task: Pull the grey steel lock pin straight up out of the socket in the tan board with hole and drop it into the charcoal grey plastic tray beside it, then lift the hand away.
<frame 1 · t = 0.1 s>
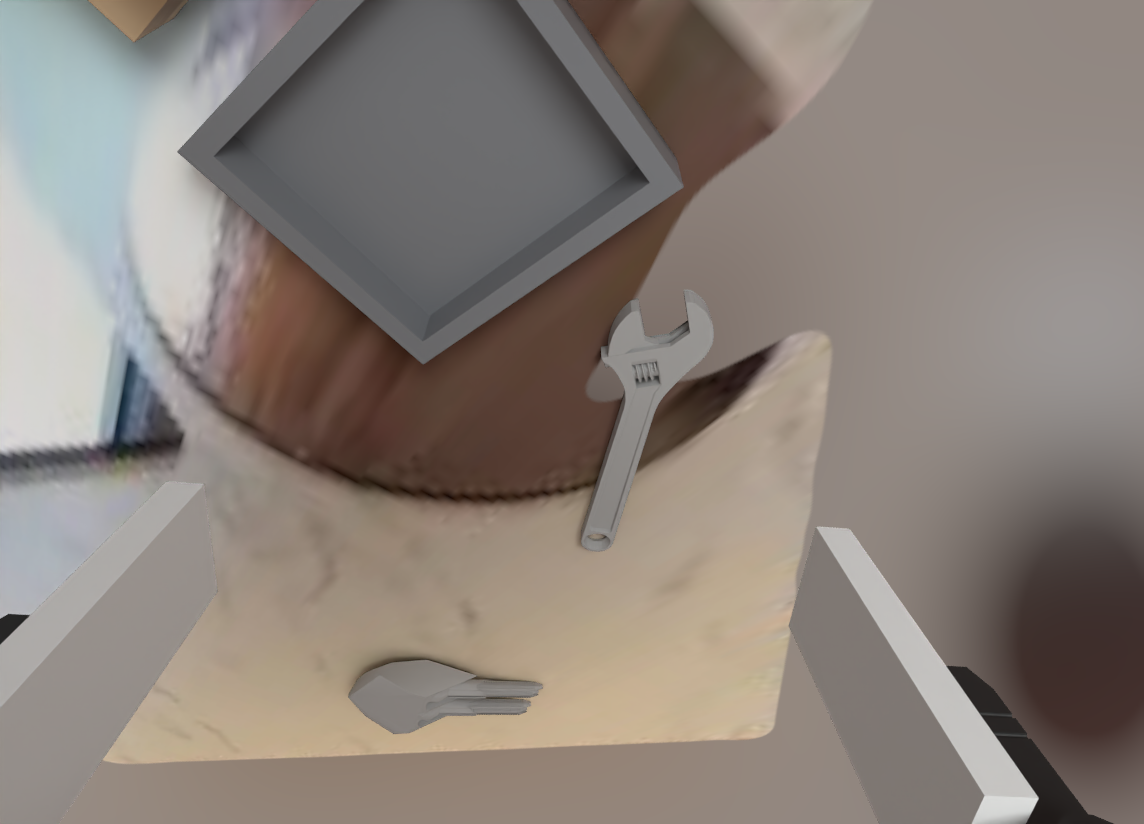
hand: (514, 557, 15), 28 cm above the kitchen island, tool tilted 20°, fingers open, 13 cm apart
turret: (448, 676, 77), on the kitchen island
tray: (444, 142, 37), on the kitchen island
adjustable wrench: (618, 426, 52), on the kitchen island
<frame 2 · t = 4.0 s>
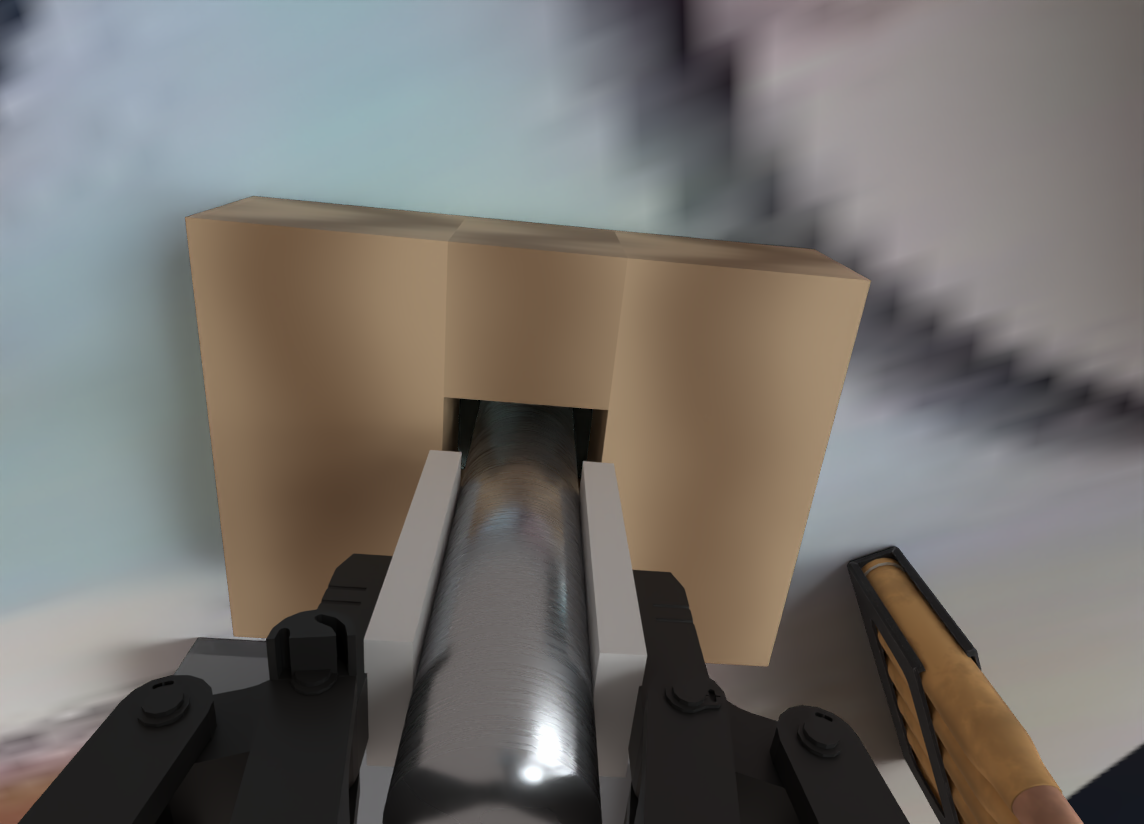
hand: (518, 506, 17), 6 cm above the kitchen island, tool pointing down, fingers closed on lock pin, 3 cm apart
lock pin: (516, 539, 16), in the tan board with hole, touching gripper
tan board with hole: (525, 415, 23), on the kitchen island
ammunition clip: (898, 656, 27), on the kitchen island
tray: (447, 805, 30), on the kitchen island
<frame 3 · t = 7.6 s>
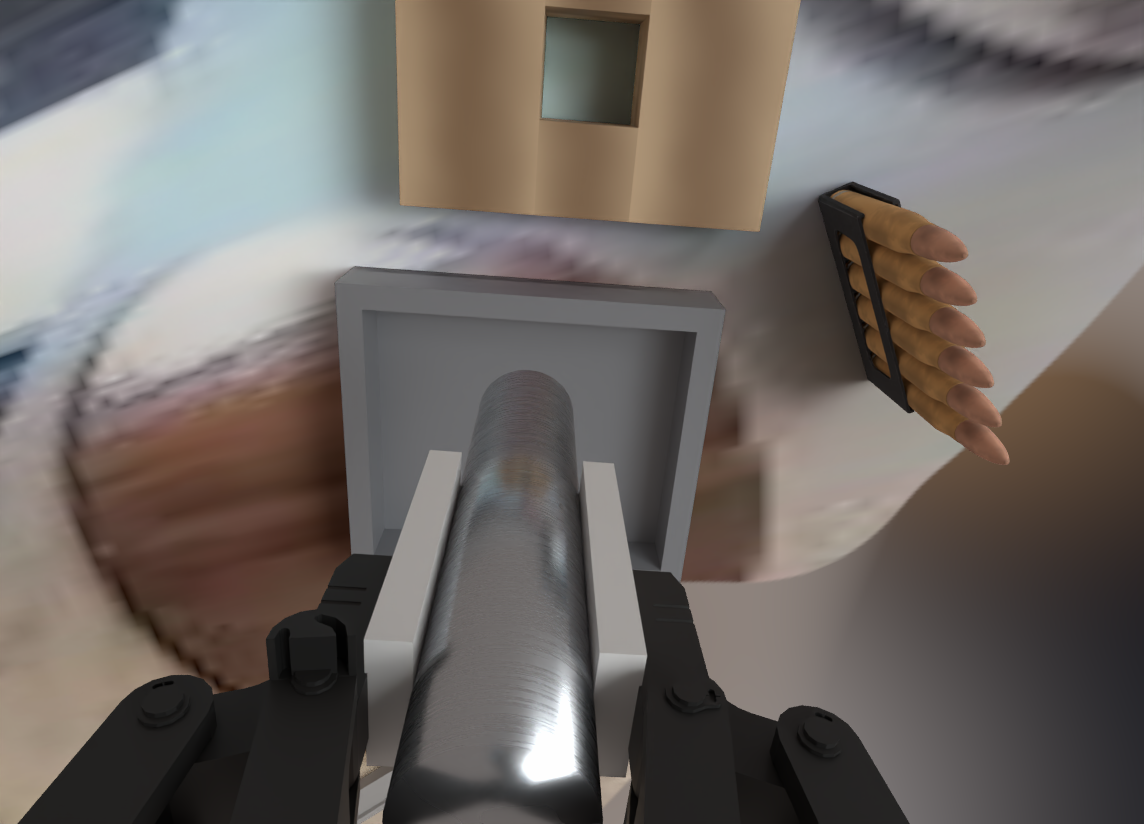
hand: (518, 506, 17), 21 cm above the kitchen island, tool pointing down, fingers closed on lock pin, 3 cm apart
lock pin: (516, 538, 16), point 23 cm above the kitchen island, touching gripper
tan board with hole: (589, 72, 33), on the kitchen island
ammunition clip: (859, 285, 37), on the kitchen island
tray: (527, 423, 40), on the kitchen island
adjustable wrench: (437, 731, 50), on the kitchen island
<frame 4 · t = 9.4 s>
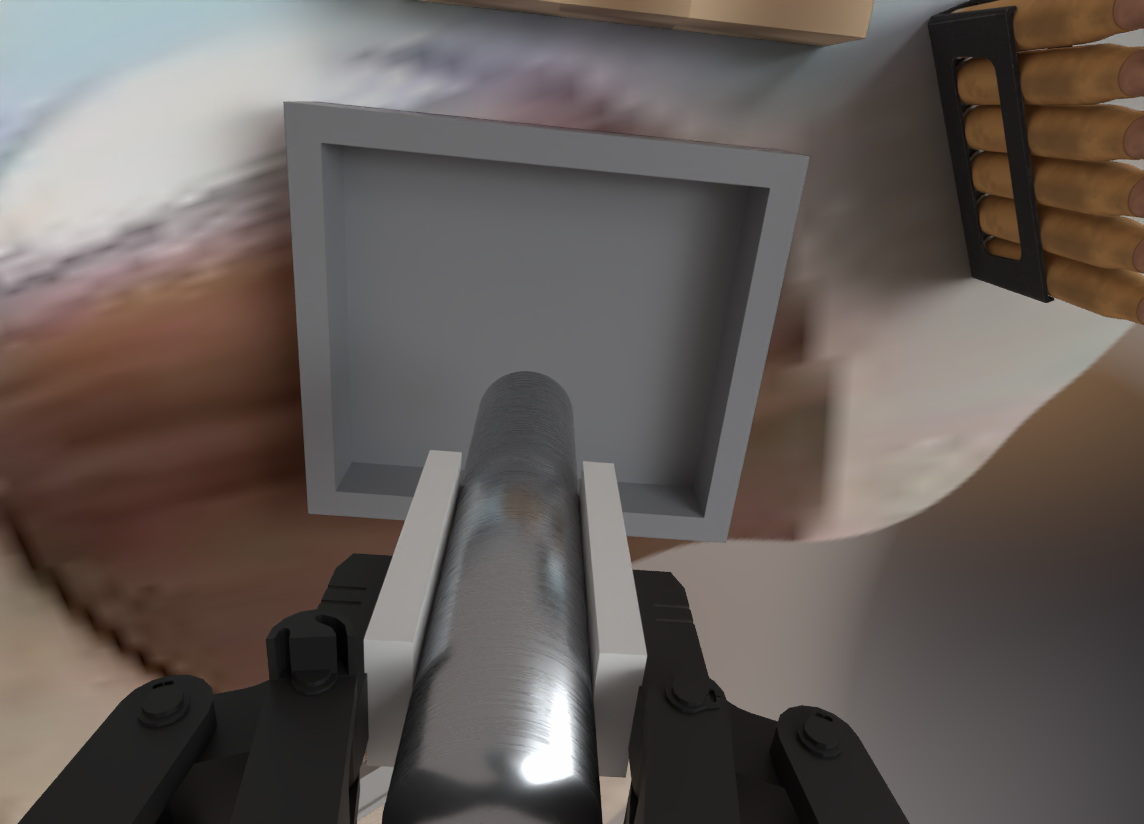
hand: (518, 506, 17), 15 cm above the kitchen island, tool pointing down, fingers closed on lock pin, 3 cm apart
lock pin: (516, 539, 16), point 16 cm above the kitchen island, touching gripper
ammunition clip: (971, 148, 29), on the kitchen island
tray: (536, 326, 31), on the kitchen island
adjustable wrench: (415, 731, 42), on the kitchen island
when the fingers open (8 cm above the kitchen island, at t = 11.1 s): lock pin drops 2 cm, resting on tray.
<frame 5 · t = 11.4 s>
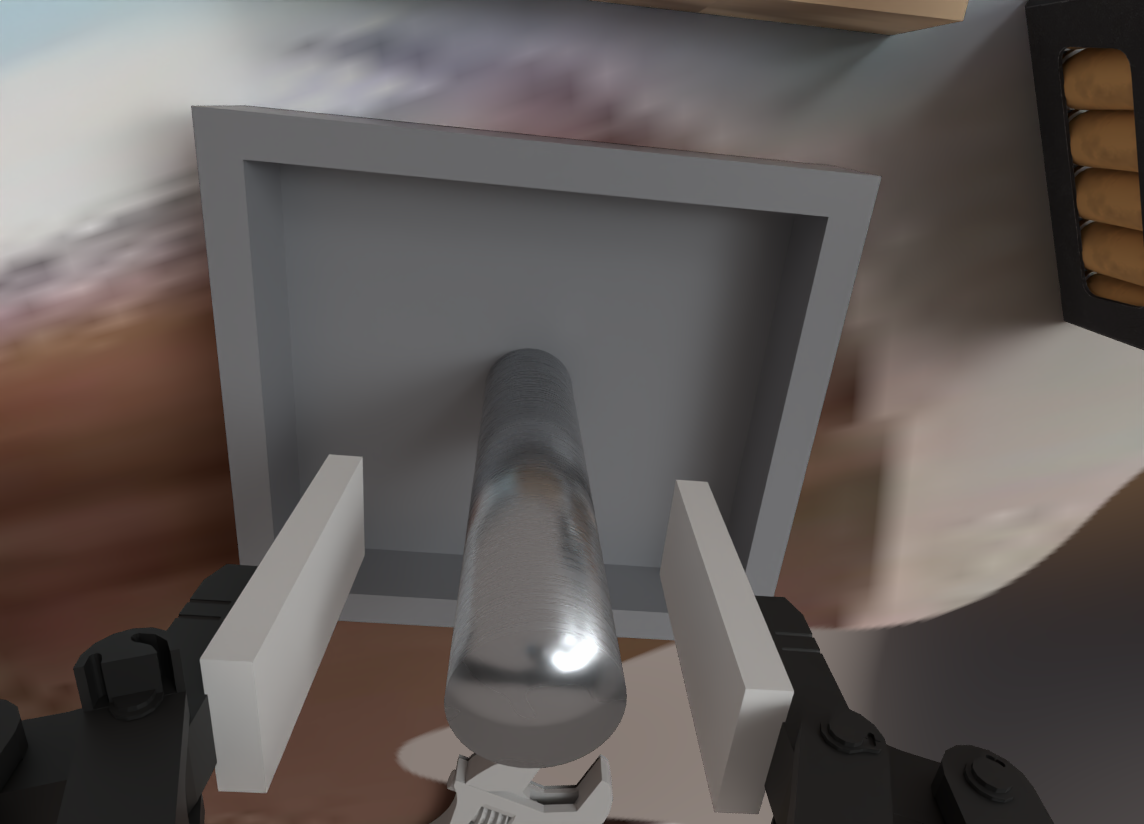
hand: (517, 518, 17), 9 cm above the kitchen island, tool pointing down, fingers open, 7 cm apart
lock pin: (531, 491, 18), in the tray, point 8 cm above the kitchen island
ammunition clip: (1070, 163, 23), on the kitchen island
tray: (528, 381, 25), on the kitchen island
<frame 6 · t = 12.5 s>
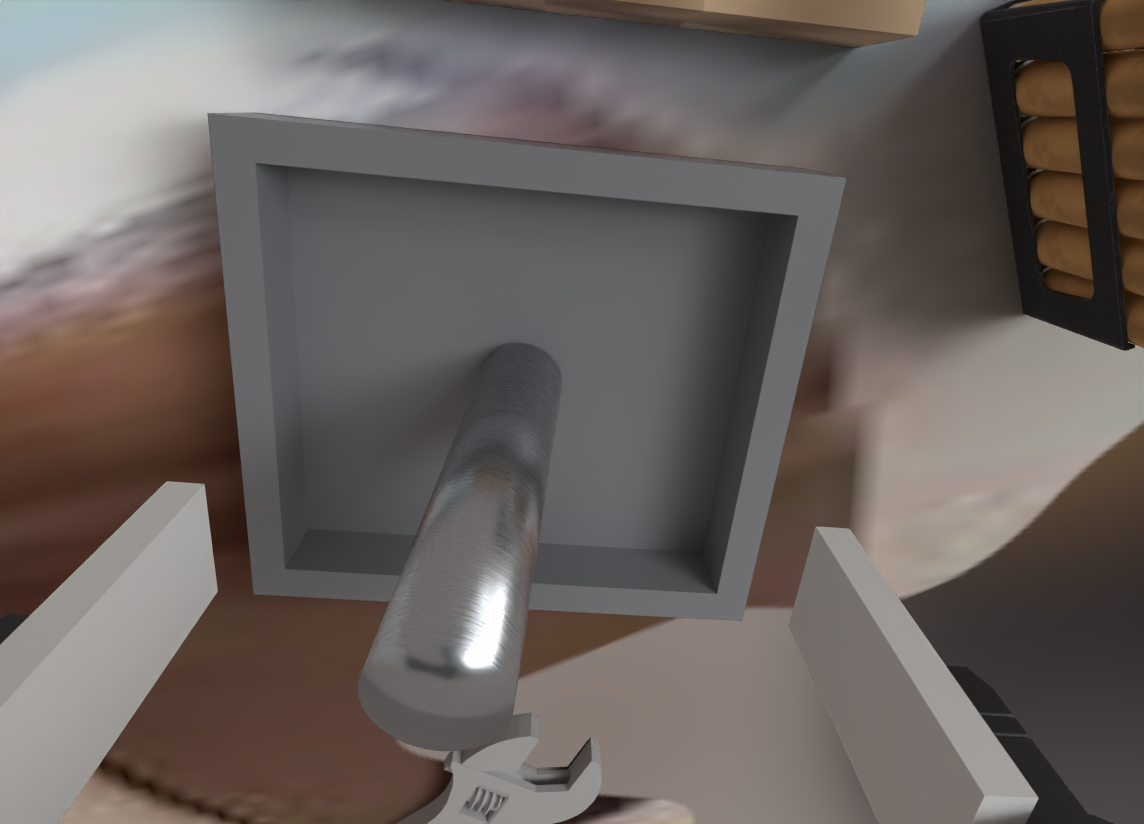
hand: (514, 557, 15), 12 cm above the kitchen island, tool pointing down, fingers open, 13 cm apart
lock pin: (491, 490, 20), in the tray, point 8 cm above the kitchen island, tilted 7°
ammunition clip: (1026, 166, 25), on the kitchen island
tray: (521, 372, 27), on the kitchen island
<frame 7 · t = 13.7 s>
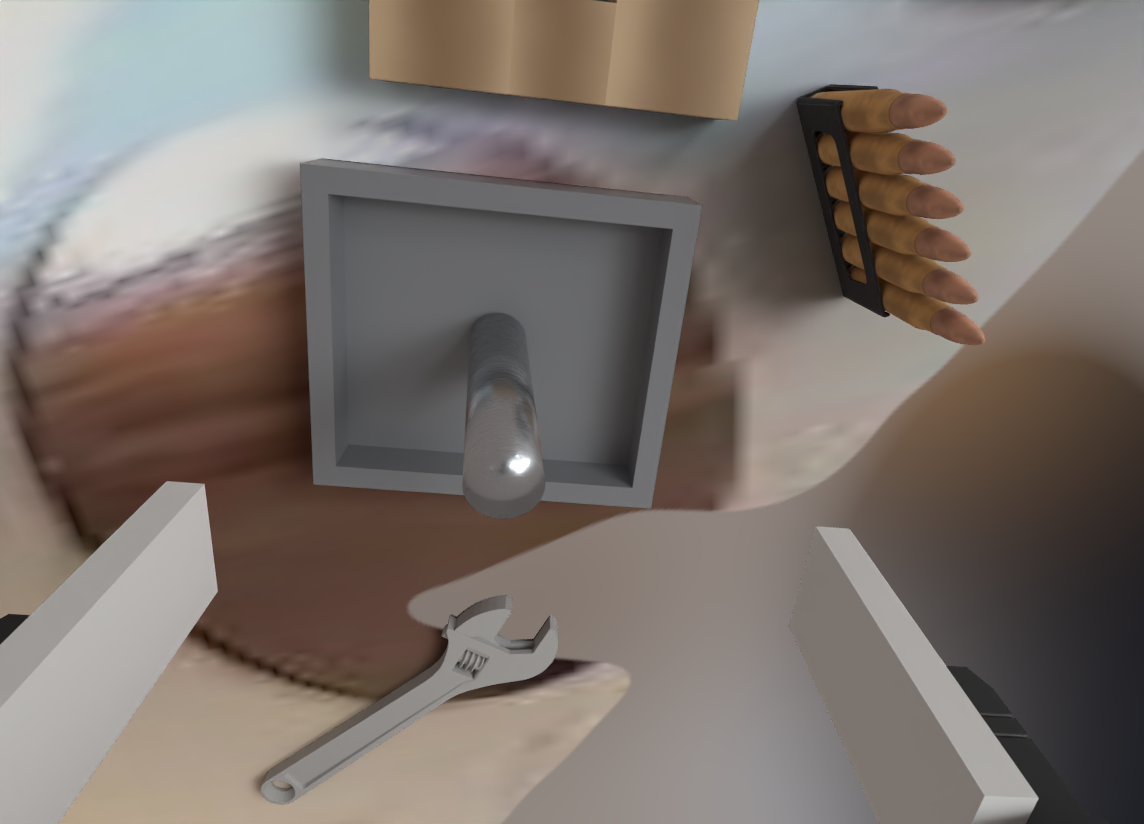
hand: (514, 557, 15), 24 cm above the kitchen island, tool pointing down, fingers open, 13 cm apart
lock pin: (500, 398, 32), in the tray, point 8 cm above the kitchen island, tilted 6°
ammunition clip: (836, 196, 37), on the kitchen island
tray: (498, 334, 39), on the kitchen island
adjustable wrench: (397, 689, 49), on the kitchen island
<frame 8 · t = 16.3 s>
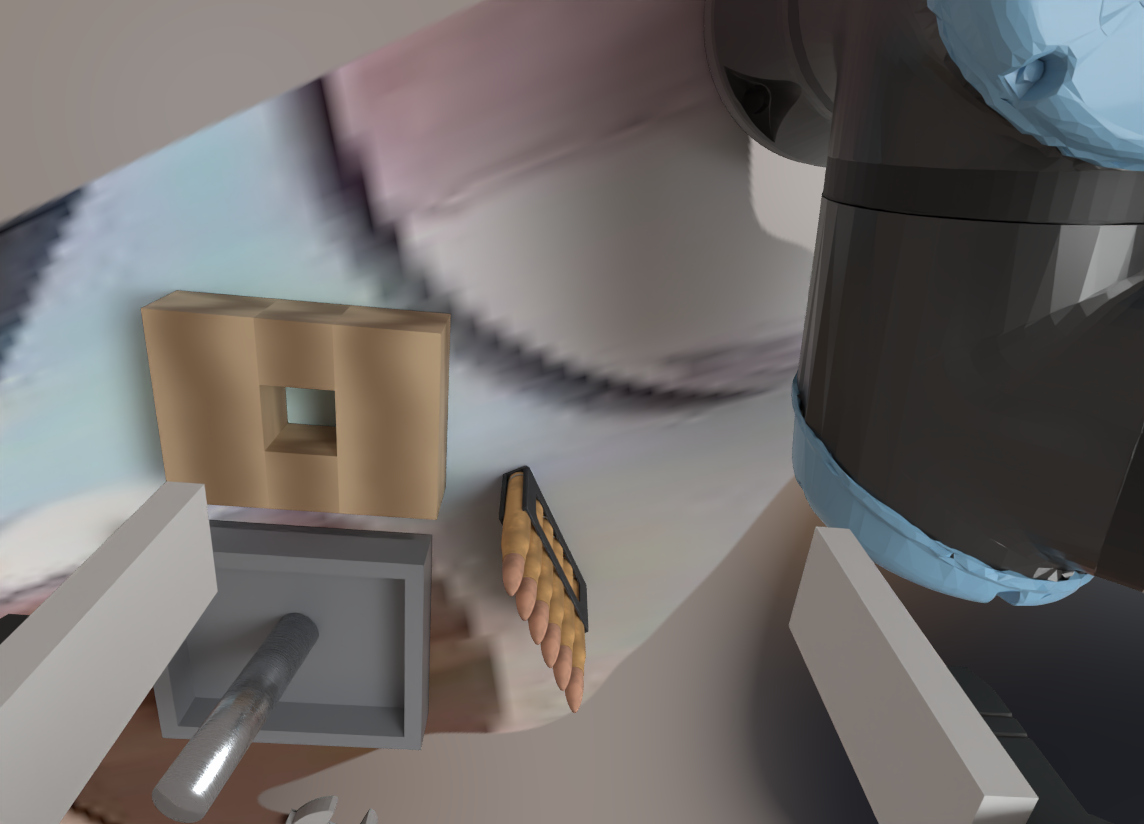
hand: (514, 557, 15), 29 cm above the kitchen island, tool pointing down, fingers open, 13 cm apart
lock pin: (247, 703, 44), in the tray, point 8 cm above the kitchen island, tilted 7°
tan board with hole: (319, 395, 45), on the kitchen island
ammunition clip: (546, 530, 49), on the kitchen island
tray: (302, 621, 51), on the kitchen island
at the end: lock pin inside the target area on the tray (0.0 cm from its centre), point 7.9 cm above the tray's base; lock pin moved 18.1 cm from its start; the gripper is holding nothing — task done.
